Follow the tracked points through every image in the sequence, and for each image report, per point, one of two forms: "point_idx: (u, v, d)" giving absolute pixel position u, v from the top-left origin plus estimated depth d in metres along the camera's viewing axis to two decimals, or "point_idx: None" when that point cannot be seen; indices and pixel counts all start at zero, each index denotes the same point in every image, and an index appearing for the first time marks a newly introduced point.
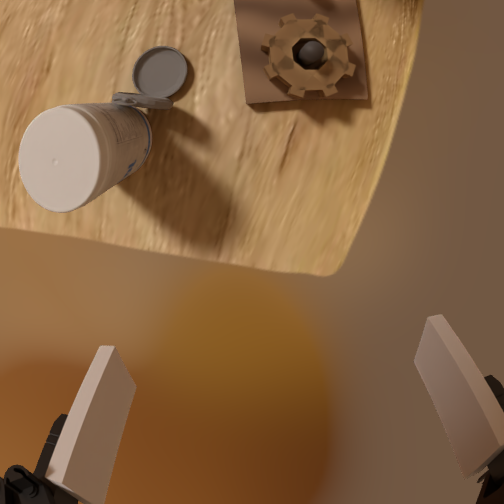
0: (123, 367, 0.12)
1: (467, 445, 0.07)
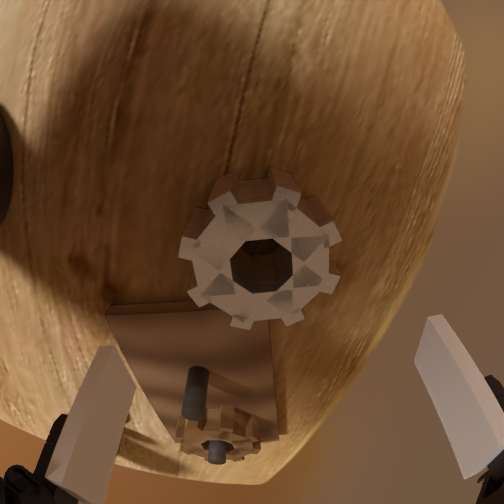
0: (123, 367, 0.12)
1: (467, 445, 0.07)
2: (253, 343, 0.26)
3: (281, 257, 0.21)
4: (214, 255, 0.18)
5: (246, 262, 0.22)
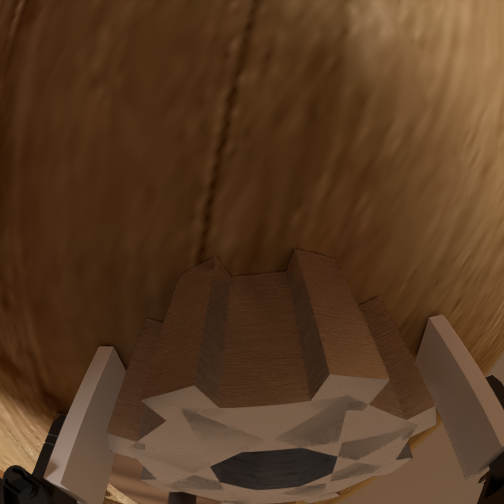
0: (122, 368, 0.12)
1: (468, 445, 0.07)
2: None
3: None
4: (178, 461, 0.07)
5: None
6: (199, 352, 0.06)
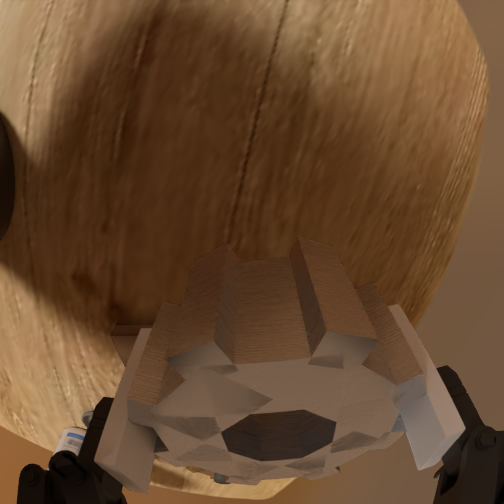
0: None
1: (419, 435, 0.08)
2: None
3: None
4: (192, 427, 0.08)
5: None
6: (217, 316, 0.07)
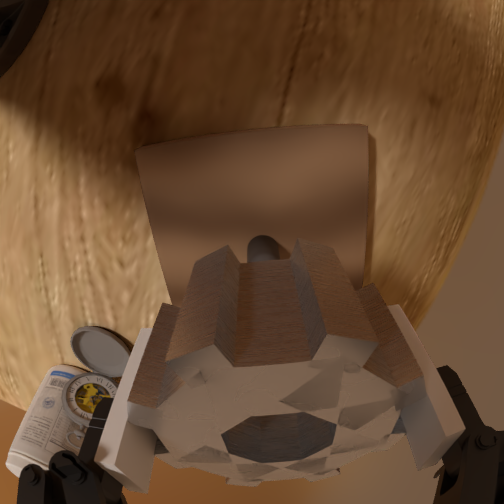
0: None
1: (419, 435, 0.08)
2: (347, 190, 0.18)
3: None
4: (192, 429, 0.08)
5: None
6: (217, 319, 0.07)
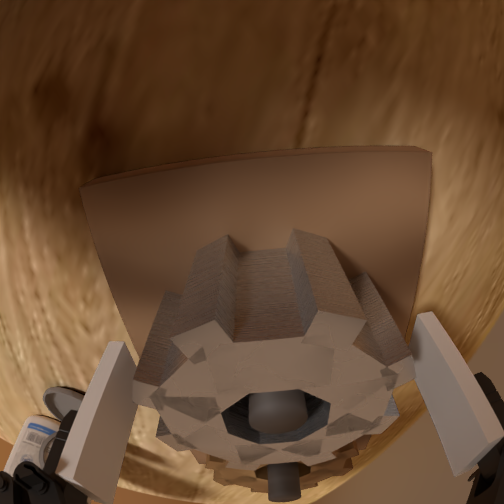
0: (132, 363, 0.12)
1: (457, 442, 0.07)
2: (396, 247, 0.12)
3: None
4: (193, 407, 0.09)
5: None
6: (217, 298, 0.08)
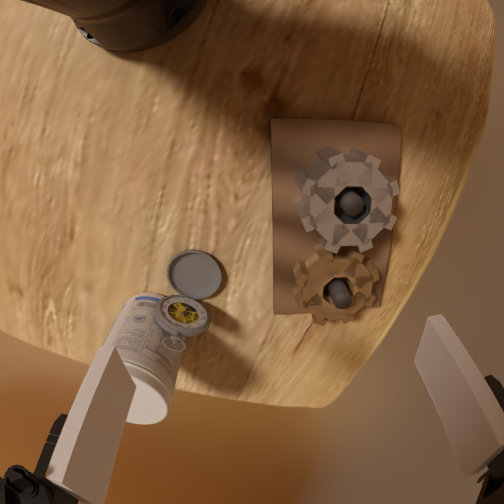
0: (123, 367, 0.12)
1: (467, 445, 0.07)
2: (388, 160, 0.30)
3: None
4: (325, 193, 0.26)
5: None
6: (339, 151, 0.25)
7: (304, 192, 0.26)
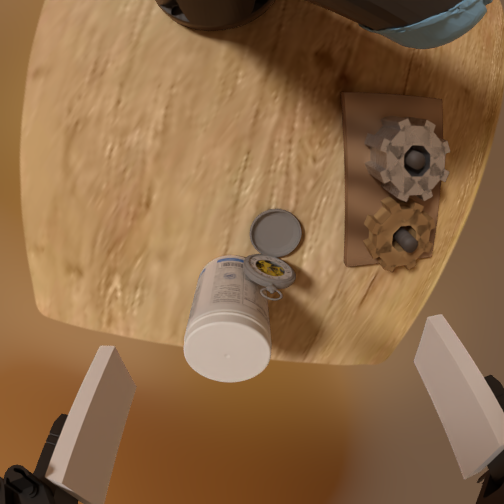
0: (123, 367, 0.12)
1: (467, 445, 0.07)
2: None
3: None
4: (397, 151, 0.29)
5: None
6: None
7: (382, 149, 0.29)
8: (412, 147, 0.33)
